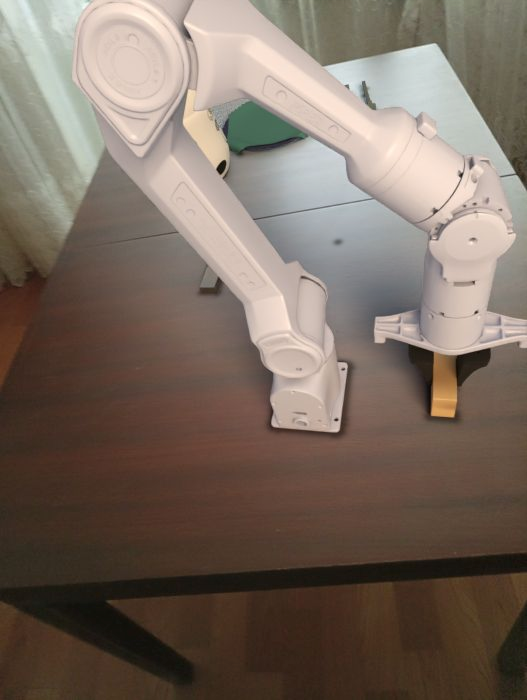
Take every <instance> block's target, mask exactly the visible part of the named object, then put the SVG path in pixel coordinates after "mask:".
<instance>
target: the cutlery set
mask: <svg viewBox="0 0 527 700" xmlns="http://www.w3.org/2000/svg"><path fill="white" fill-rule="evenodd" d="M343 85H344V86H345V87H347V88H348V89H349V90H350V85H349V83H348V84H343ZM361 86H362V89H363V93H364V97H365V100H366V105H367V106H369V107H370V108H371V109H372V110H377V106H376V105H377V104H376V103H375V102H373V100H372V99H371V97H370V93H369V91H368V86H367V83H366V80H362V81H361ZM350 91H351V90H350ZM222 132H223V133H224V135H225V137H226V140H227V143H228V147H229V150H231V151H233V152H235V153H237V154H240V153H241V151H242V150H244V149H247V150H265V149H272V148H273V149H274V148H276V147H280V146H284V145H286V144H287V145H288V144H289V143H292V142H293V141H295V140H298V139H300V138H302V139H305V138H307V137H309V135H307V134H305V133H304V132H302V131H300V130H299V129H297V128H295V127H294V126H292V125H290V124H289V123H287V122H285V121H284V120H282V119H280V118H279V117H277V116H275V115H274V114H272V113H270V112H269V111H267V110H265V109H264V108H262V107H260V106H259V105H257V104H255V103H254V102H252V101H250V100H248V101H246V102H244V103H242V104H241V105H240V106H238V107H237V108H235V109H234V110H233V111H231V112H230V113H228V118H226V120H225V122H224V124H223V128H222Z"/></svg>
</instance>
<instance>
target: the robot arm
mask: <svg viewBox="0 0 527 700" xmlns="http://www.w3.org/2000/svg"><path fill="white" fill-rule="evenodd" d="M71 65H72V66H71V81H72V83H73V84H74V85H75V87H77V89H78V90H79V91H80V92H81V93H82V94H83V96H84V97H85V98H86V99H87V100H88V102H89V103H90V105H91V108H92V110H93V114H94V117H95V119H96V122H97V125H98V128H99V132H100V134H101V136H102V140H103V142H104V145H105V148H106V151H107V152H108V153H109V155H110V156H111V157H112V159H113V160H114V161H115V163H116V164H117V165H118V166H119V167H120V168H121V169H122V170H123V171H124V172H125V174H126V175H127V176H128V177H129V178H130V179H131V180H132V182H133V183H134V184H135V185H136V186H137V187H138V188H139V189H140V190H141V191H142V193H143V194H144V195H145V196H146V197H147V198H148V199H149V201H150V202H151V203H152V204H153V206H155V207H156V208H157V210H158V211H160V213H161V214H162V215H163V216H164V217H165V218H166V220H167V221H168V222H169V223H170V224H171V225H172V227H174V229H176V231H177V232H178V233H179V234H180V235H181V236H182V238H183V239H184V240H185V241H186V242H187V243H188V244H189V246H190V247H192V249H193V250H194V251H195V252H196V253H197V255H199V256H200V258H201V259H202V260H203V261H204V262H205V263H206V264H207V266H208V265H209V266H210V268H211V269H212V270H213V271H214V272H215V273H216V274H217V275H218V277H219V278H220V279H221V282H223V284H224V285H225V286H226V287H227V288H228V289H229V290H230V291H231V293H233V295H234V296H235V297H236V298H237V299H238V300H239V302H240V303H241V304H242V306H243V309H244V313H245V318H246V323H247V328H248V334H249V337H250V341H251V343H253V345H254V346H255V347H256V348H257V349H258V351H259V356H260V361H261V363H262V365H263V366H264V367H265V368H266V369H267V370H269V371H270V372H272V384H271V388H270V389H271V390H270V393H269V402H270V405H271V407H272V410H273V411H272V412H273V413H272V416H271V421H270V424H271V426H272V427H273V428H275V429H276V428H277V429H278V428H279V429H289V430H301V431H313V432H322V433H323V432H325V433H338V432H339V431H340V430H341V423H342V416H343V408H344V400H345V392H346V383H347V376H348V369H349V366H348V363H347V362H343V361H338V356H337V350H336V345H335V338H334V334H333V331H332V330H331V328H330V326H329V325H328V324H327V322H326V313H327V312H326V311H327V310H326V309H327V302H328V297H329V293H328V288H327V285H326V284H325V283H324V282H323V281H322V280H321V279H320V278H318V277H316V276H314V275H313V274H312V273H309V272H307V270H305V268H303V266H302V265H301V263H300V262H299V260H287V261H284V260H283V258H282V257H281V256H280V254H279V253H278V251H276V249H275V248H274V247H273V245H272V243H271V242H270V241H269V240H268V238H267V237H266V235H265V234H264V233H263V231H262V230H261V229H260V227H259V226H258V224H257V223H256V222H255V220H254V219H253V218H252V216H251V215H250V214H249V212H248V211H247V210H246V208H245V207H244V206H243V204H242V203H241V201H240V200H239V198H237V196H236V195H235V193H234V192H233V190H232V189H231V188H230V187H229V185H228V184H227V183H226V180H224V178H223V179H222V177H221V176H220V175H219V173H218V172H217V170H216V169H215V168H214V166H213V165H212V164H211V162H210V161H209V160H208V158H207V157H206V156H205V154H204V153H203V151H202V150H201V149H200V147H199V146H198V145H197V143H196V142H195V141H194V139H193V138H192V137H191V135H190V134H189V132H188V131H187V130H186V128H185V127H184V125H183V116H184V111H185V105H186V99H187V93H188V89H190V90H195V91H196V94H195V100H194V106H193V110H194V111H203V110H207V109H210V108H212V109H213V108H216V107H219V106H222V105H225V104H228V103H232V102H236V101H238V100H242V99H243V100H244V99H245V100H248V101H252V102H254V103H255V104H257V105H259V106H260V107H262V108H264V109H265V110H267V111H269V112H270V113H272V114H274V115H275V116H277V117H279V118H280V119H282V120H284V121H285V122H287V123H289V124H290V125H292V126H294V127H295V128H297V129H299V130H300V131H302V132H304V133H305V134H307V135H308V137H311V138H312V139H313V140H315V141H316V142H319V143H320V144H321V145H324V146H325V147H327V148H329V149H330V150H331V151H333V152H335V153H337V154H339V156H341V157H343V158H344V160H345V171H346V176H347V179H348V182H349V183H350V184H352V185H353V186H355V187H356V188H358V189H359V190H360V191H362V192H363V193H365V194H366V195H367V196H369V197H371V198H372V199H373V200H375V201H377V202H378V203H379V204H381V205H382V206H384V207H385V208H387V209H388V210H389V211H391V212H393V213H395V214H396V215H397V216H399V217H400V218H402V219H404V220H405V221H406V222H408V223H409V224H410V225H412V226H414V227H415V228H417V229H419V230H421V231H423V232H425V233H427V245H426V246H427V247H426V250H425V252H424V256H423V270H422V271H423V272H422V289H421V303H420V304H421V305H420V306H421V307H420V308H416V309H413V310H408V311H404V312H401V313H396V314H392V315H385V316H384V315H383V316H375V317H374V325H373V339H374V340H373V342H374V344H384V343H386V340H387V339H392V340H396V341H399V342H402V343H404V344H408V353H407V355H408V359H409V362H410V363H411V364H412V365H414V366H416V367H417V368H418V370H419V371H420V372H421V374H422V376H423V378H424V381H425V385H426V386H431V385H432V382H433V365H434V352H437V353H440V354H444V355H456V369H457V388H459V387H460V388H461V387H462V386H463V384H464V383H465V381H466V380H467V379H468V378H469V377H470V376H471V375H472V374H473V373H474V372H476V371H478V370H480V369H483V368H485V367H488V365H489V364H490V361H491V357H492V351H491V348H496V347H498V346H502V345H506V344H511V343H517V347H518V348H520V349H527V319H523V318H517V317H511V316H507V315H505V314H504V315H503V314H500V313H496V312H493V311H489V310H488V307H489V306H488V305H489V301H490V297H491V293H492V287H493V282H494V279H495V274H496V269H497V264H498V258H500V257H501V256H503V254H505V253H506V252H507V251H508V250H510V248H511V246H512V245H513V244H514V242H515V240H516V238H517V233H515V232H514V230H513V229H514V220H513V215H512V211H511V208H510V204H509V201H508V198H507V195H506V192H505V188H504V184H503V181H502V179H501V176H500V174H499V173H498V170H497V168H496V167H495V166H494V165H493V164H492V162H491V159H490V158H489V157H487V156H484V155H481V154H472V153H471V154H462V153H460V152H459V150H457V149H455V147H453V146H452V145H450V144H449V143H448V142H446V140H444V139H443V138H441V137H440V136H439V135H438V128H437V122H436V120H435V119H434V118H433V117H432V116H430V115H429V114H428V113H427V112H425V111H421V112H420V113H419V114H418V115H417V116H416V117H415V116H414V115H413V114H411V113H410V112H408V111H407V110H406V109H405V108H403V107H401V106H391V107H386V108H380V109H376V110H372V109H371V108H370V107H369V106H367V103H366V102H364V101H363V100H362V99H361V98H359V97H358V96H357V95H356V94H355V93H354V92H352V91H351V90H349V89H350V88H349V89H348V88H347V87H345V86H344V85H345V84H343V83H342V82H341V81H340V80H339V79H337V77H335V76H334V75H333V74H332V73H330V71H328V69H326V68H325V67H323V66H322V65H321V64H320V63H319V62H318V61H317V60H315V59H314V58H313V57H312V56H311V55H310V54H309V53H307V51H305V50H304V48H302V47H301V46H299V45H298V44H297V43H296V42H294V41H293V40H292V39H291V38H290V37H289V36H288V35H287V34H286V33H284V32H283V31H282V30H281V29H280V28H278V27H277V26H276V25H275V24H274V23H273V22H271V20H269V19H268V18H267V17H266V16H265V15H264V14H262V13H261V11H259V10H258V9H257V8H256V6H254V5H253V4H252V3H251V2H250V0H91V1H90V2H89V3H88V4H87V5H86V7H85V8H83V10H82V12H81V14H80V15H79V17H78V19H77V23H76V25H75V30H74V39H73V51H72V63H71Z"/></svg>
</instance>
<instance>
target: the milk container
mask: <svg viewBox="0 0 527 700" xmlns="http://www.w3.org/2000/svg"><path fill="white" fill-rule="evenodd" d="M195 94H196V91H195V90H190V89H188V93H187V99H186V105H185V111H184V116H183V125H184V127H185V128H186V130H187V131H188V132H189V134H190V135H191V137H192V138H193V139H194V141H195V142H196V143H197V145H198V146H199V147H200V149H201V150H202V151H203V153H204V154H205V156H206V157H207V158H208V160H209V161H210V162H211V164H212V165H213V166H214V168H215V169H216V170H217V172H218V173H219V175H220V176H221V177H222V179H223V180H224V178H225V177H226V176H227V173H228V172H229V169H230V164H231V154H230V148H229V146H228V143H227V140H226V137H225V135H224V133H223V129H222V128H221V127H220V125H219V124H218V122H217V119H216V117H215V114H214V111H213V108H210V109H207V110H203V111H194V110H193V106H194V100H195Z"/></svg>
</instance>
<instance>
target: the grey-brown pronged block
mask: <svg viewBox="0 0 527 700" xmlns="http://www.w3.org/2000/svg"><path fill="white" fill-rule="evenodd" d="M221 282H222V280H221V279H220V278H219V277H218V275H217V274H216V273H215V272H214V271H213V270H212V269H211V268H210V266H209V265H208V264H207V266H206V269H205V271H204V274H203V276H202V279H201V282H200V284H199V289H200V292H201V293H202V294H203V293H204V294H207V293H209V294H211V293H212V294H216V293H218V289H219V286H220V284H221Z"/></svg>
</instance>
